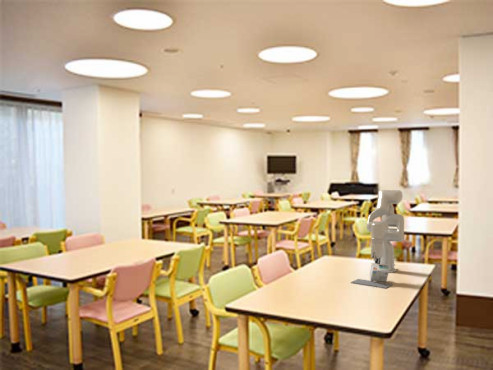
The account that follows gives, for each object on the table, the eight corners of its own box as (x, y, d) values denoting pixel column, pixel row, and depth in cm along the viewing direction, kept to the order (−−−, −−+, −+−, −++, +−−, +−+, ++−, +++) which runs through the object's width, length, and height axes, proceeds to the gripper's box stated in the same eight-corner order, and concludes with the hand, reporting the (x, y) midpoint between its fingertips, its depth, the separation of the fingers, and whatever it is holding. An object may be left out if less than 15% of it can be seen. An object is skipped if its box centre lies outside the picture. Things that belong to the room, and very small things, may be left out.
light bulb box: (385, 274, 284) (387, 263, 277) (386, 282, 278) (389, 271, 272) (368, 273, 285) (371, 262, 278) (370, 281, 280) (372, 270, 273)
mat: (357, 279, 287) (357, 278, 287) (392, 285, 271) (392, 284, 271) (350, 283, 279) (350, 282, 279) (386, 288, 263) (386, 287, 263)
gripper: (376, 239, 290) (376, 265, 291) (367, 242, 279) (367, 269, 279) (387, 240, 285) (387, 267, 286) (378, 243, 274) (378, 271, 274)
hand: (377, 268), depth 282 cm, fingers closed
